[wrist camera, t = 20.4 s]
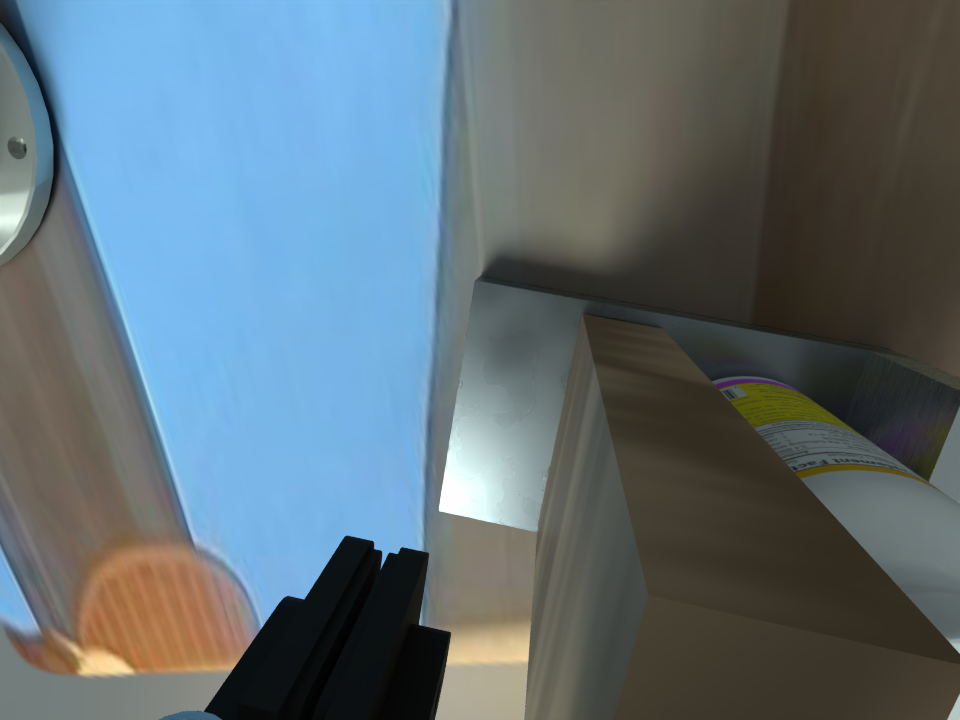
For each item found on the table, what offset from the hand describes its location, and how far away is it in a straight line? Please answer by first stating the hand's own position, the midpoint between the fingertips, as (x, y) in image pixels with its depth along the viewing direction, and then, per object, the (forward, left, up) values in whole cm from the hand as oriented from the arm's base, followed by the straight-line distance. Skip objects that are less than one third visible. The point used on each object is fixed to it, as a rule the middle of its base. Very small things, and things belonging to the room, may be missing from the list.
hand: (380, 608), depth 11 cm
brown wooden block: (+5, 0, -12) cm, 13 cm away
